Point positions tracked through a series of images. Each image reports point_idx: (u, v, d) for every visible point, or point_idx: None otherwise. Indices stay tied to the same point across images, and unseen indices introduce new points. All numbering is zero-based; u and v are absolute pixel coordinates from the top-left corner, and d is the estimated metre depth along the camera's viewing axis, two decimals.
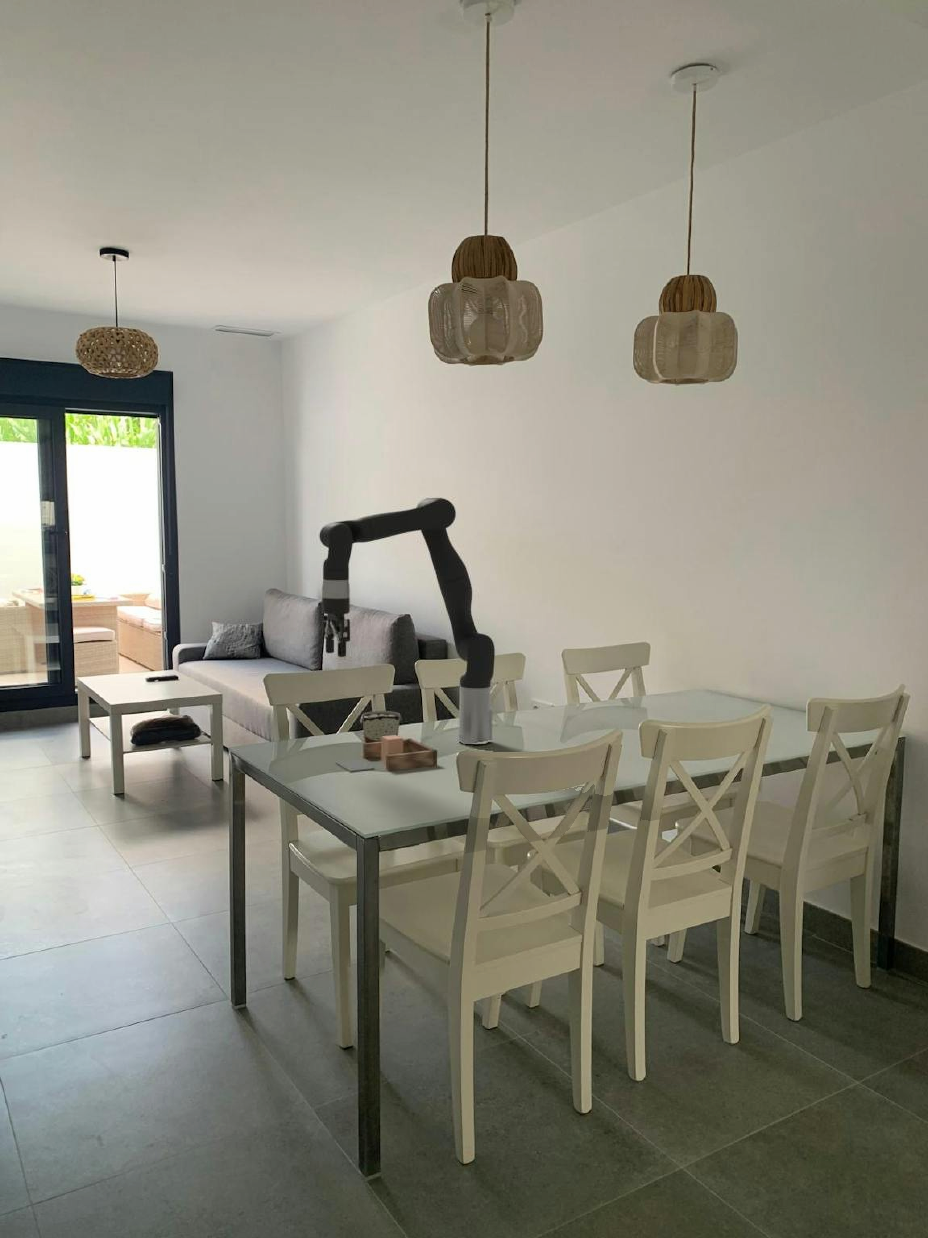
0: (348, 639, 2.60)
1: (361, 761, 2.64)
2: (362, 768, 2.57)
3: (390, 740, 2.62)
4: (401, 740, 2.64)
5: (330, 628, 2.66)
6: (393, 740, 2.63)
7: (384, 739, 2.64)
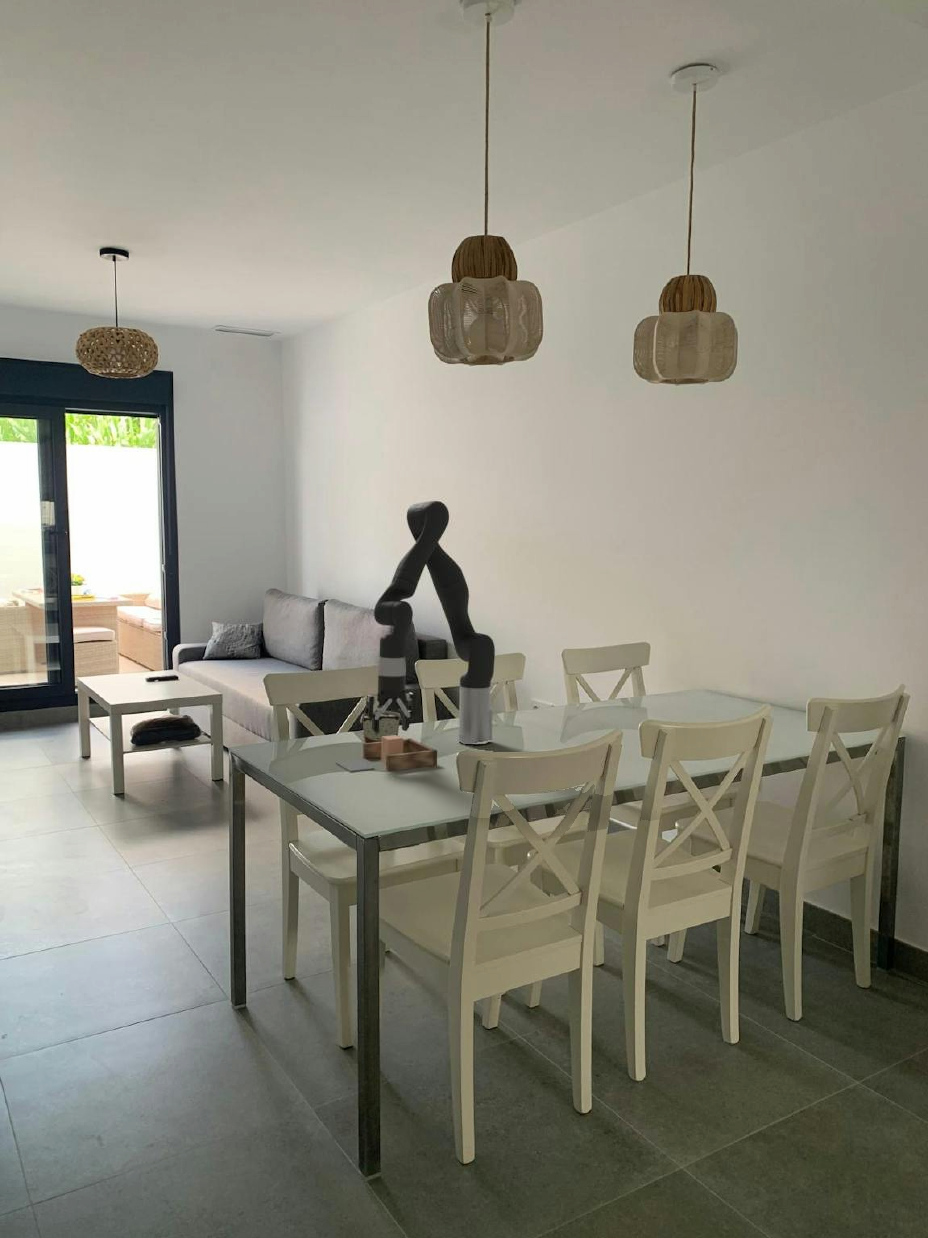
0: None
1: (361, 761, 2.64)
2: (362, 768, 2.57)
3: (390, 740, 2.62)
4: (401, 740, 2.64)
5: (388, 706, 2.62)
6: (393, 740, 2.63)
7: (384, 739, 2.64)
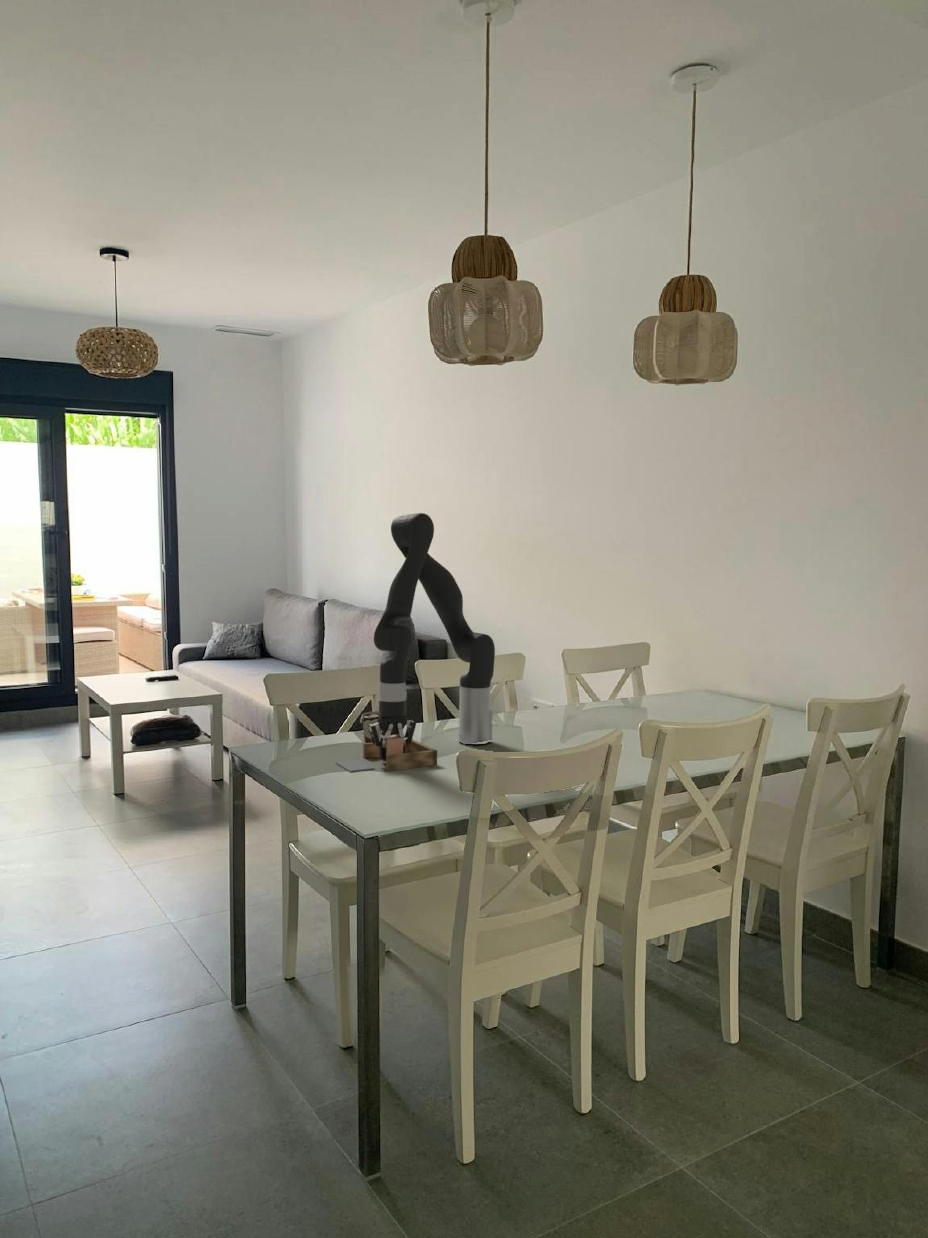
0: None
1: (361, 761, 2.64)
2: (362, 768, 2.57)
3: (390, 740, 2.62)
4: (401, 740, 2.64)
5: (392, 730, 2.63)
6: (393, 740, 2.63)
7: None
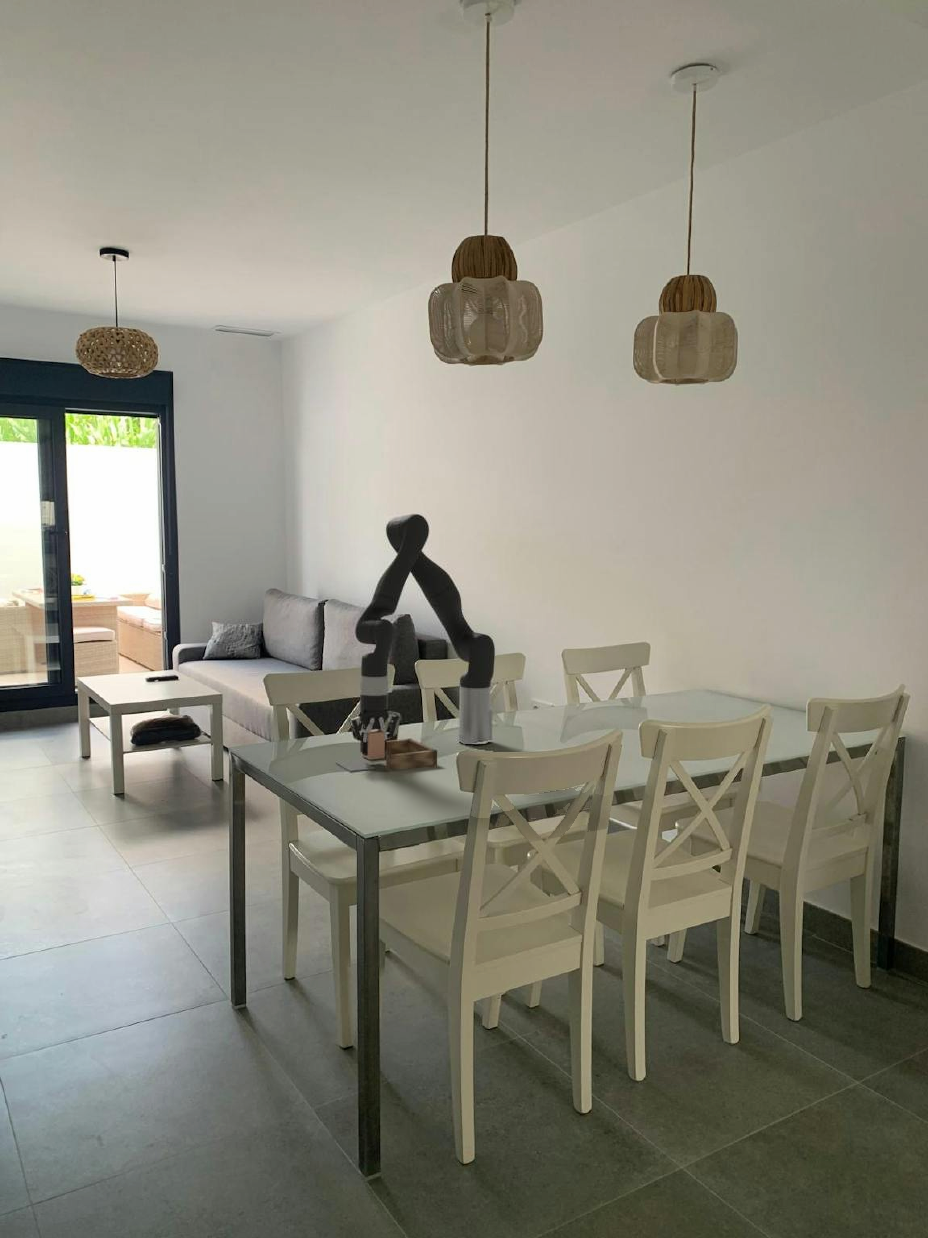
0: None
1: (361, 761, 2.64)
2: (362, 768, 2.57)
3: (371, 734, 2.59)
4: (383, 734, 2.61)
5: (373, 725, 2.60)
6: (374, 734, 2.59)
7: None
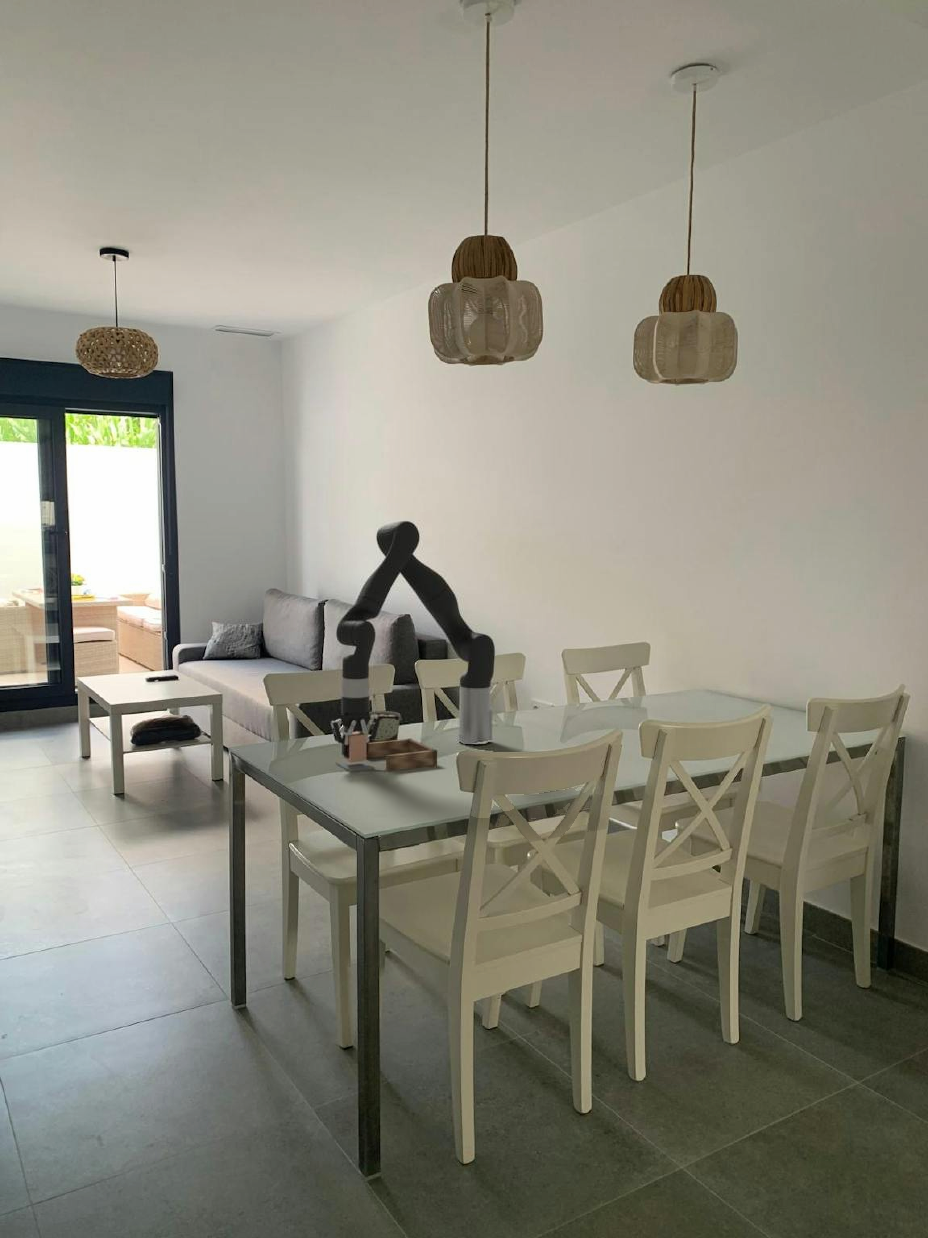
0: None
1: (361, 761, 2.64)
2: (362, 768, 2.57)
3: (353, 737, 2.57)
4: (364, 737, 2.58)
5: (354, 727, 2.58)
6: (356, 737, 2.57)
7: None
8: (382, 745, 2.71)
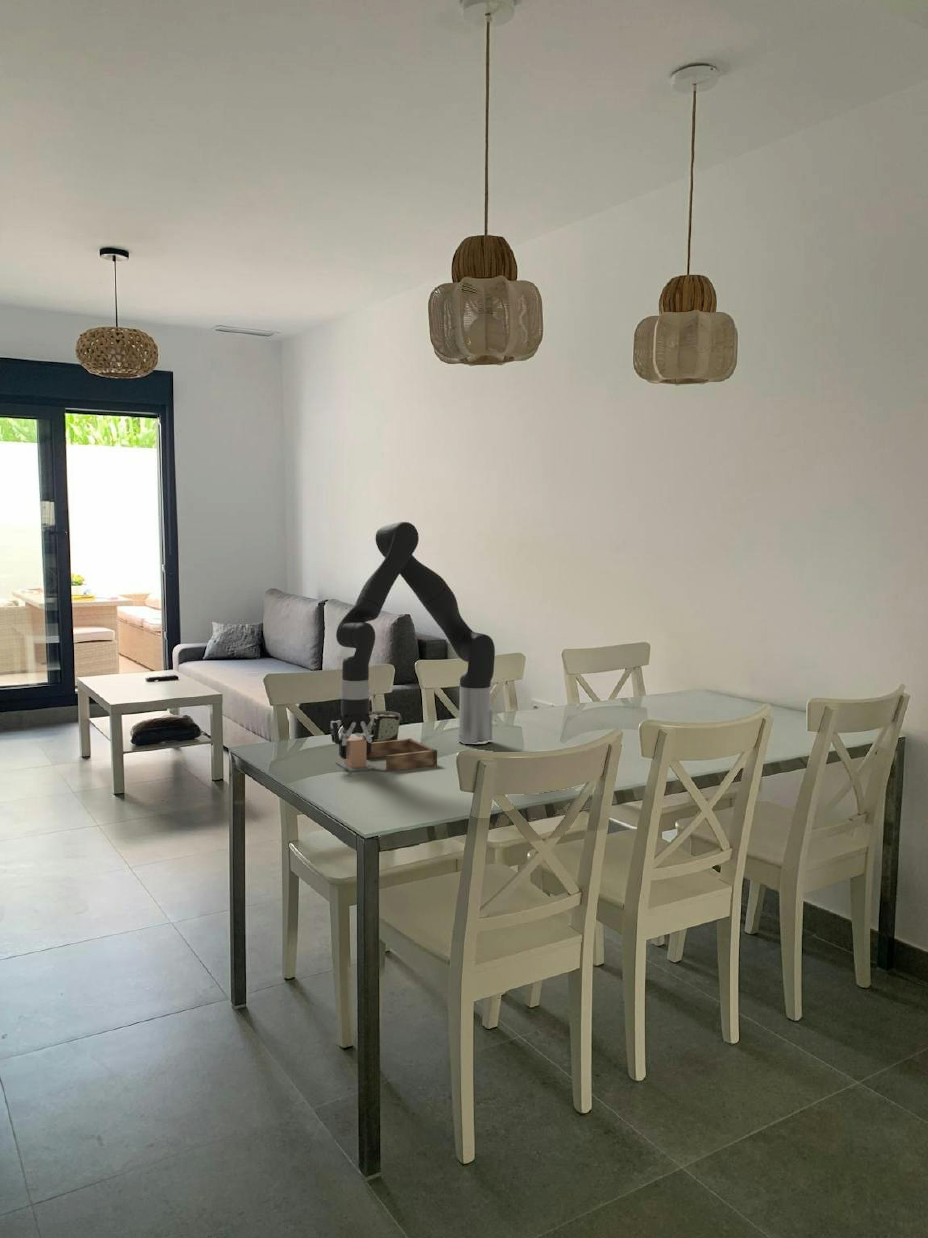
0: None
1: None
2: (362, 768, 2.57)
3: (353, 742, 2.57)
4: (364, 742, 2.58)
5: (354, 729, 2.58)
6: (356, 742, 2.57)
7: (347, 741, 2.58)
8: (382, 745, 2.71)
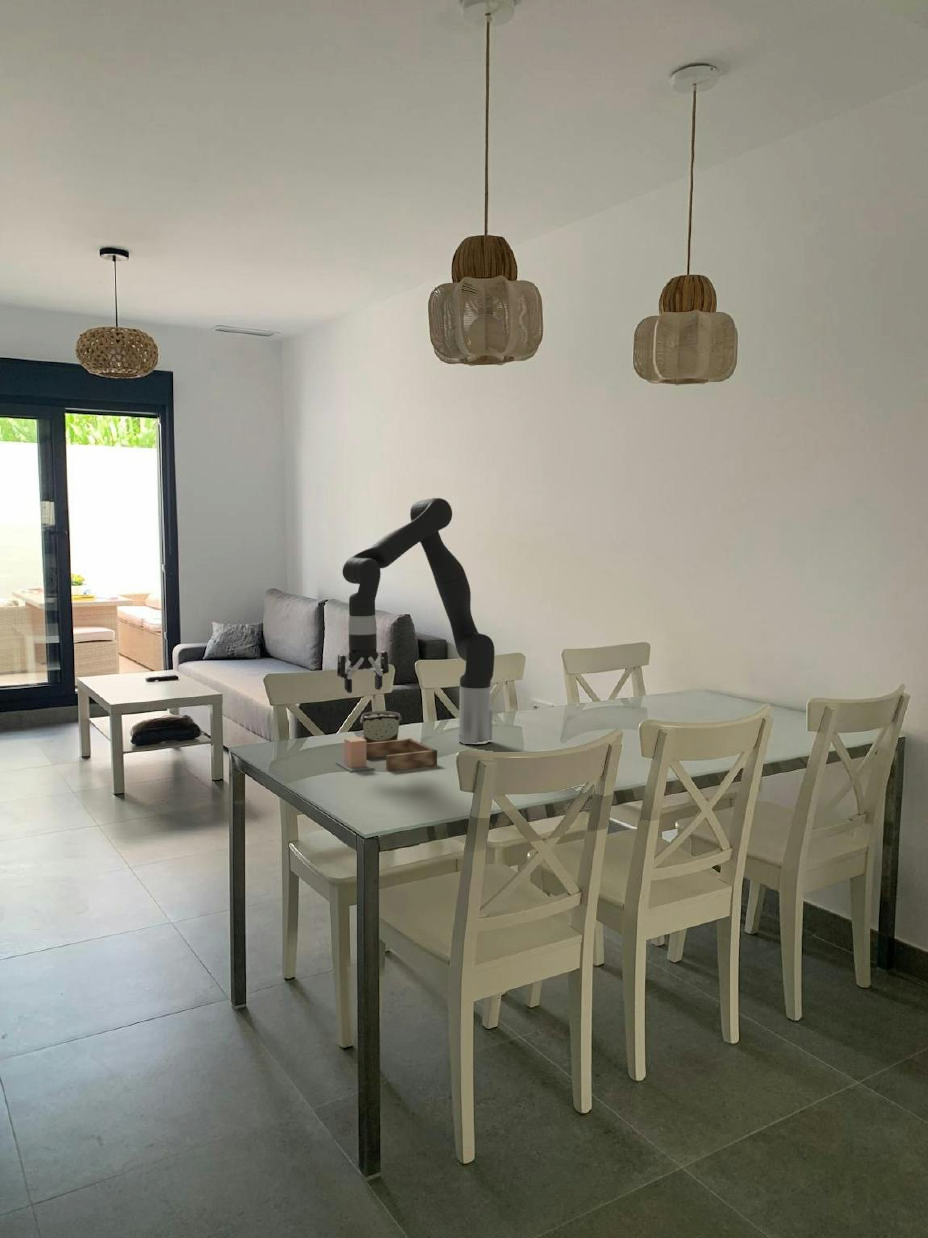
0: None
1: None
2: (362, 768, 2.57)
3: (353, 742, 2.57)
4: (364, 742, 2.58)
5: (360, 665, 2.60)
6: (356, 742, 2.57)
7: (347, 741, 2.58)
8: (382, 745, 2.71)
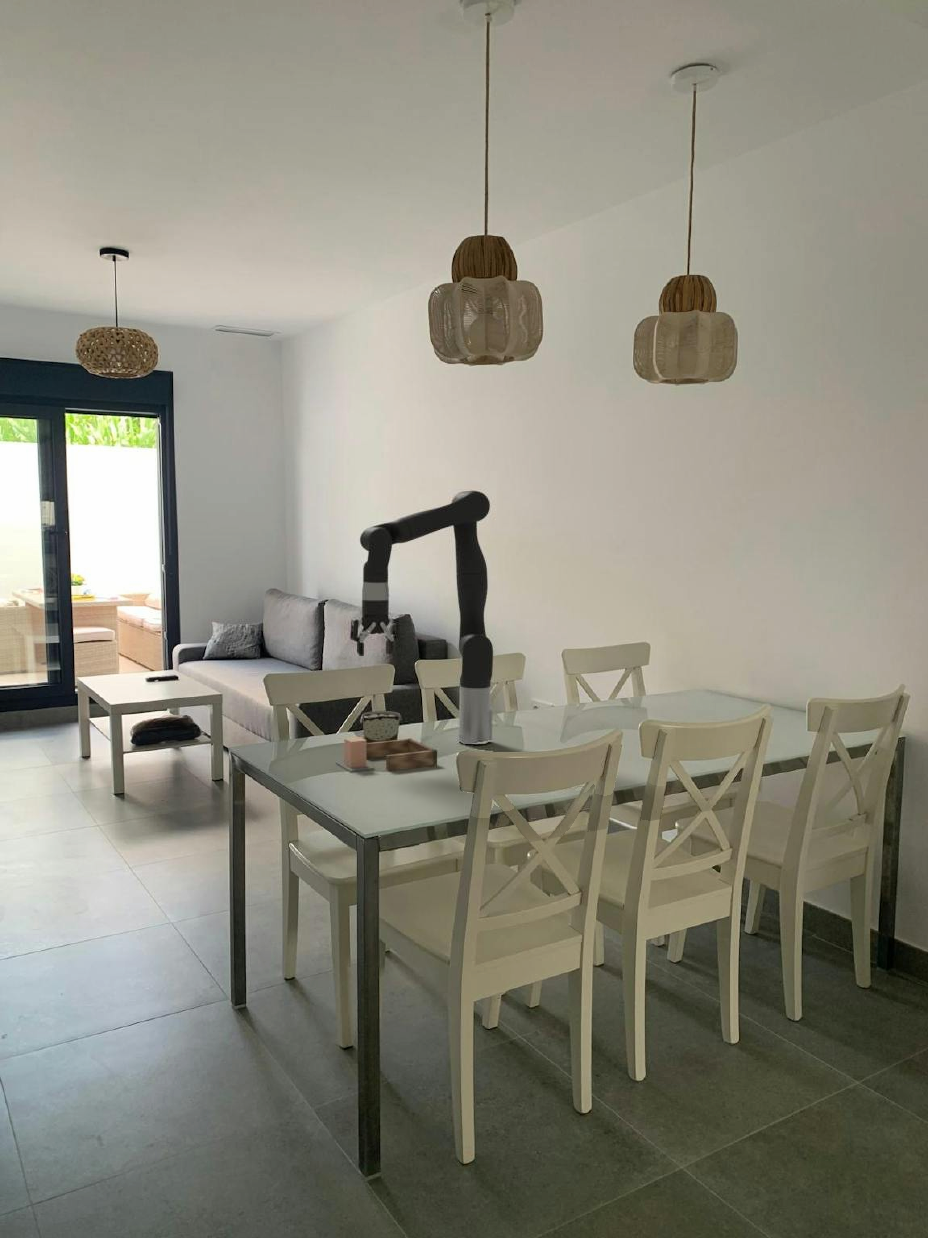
0: None
1: None
2: (362, 768, 2.57)
3: (353, 742, 2.57)
4: (364, 742, 2.58)
5: (373, 630, 2.72)
6: (356, 742, 2.57)
7: (347, 741, 2.58)
8: (382, 745, 2.71)
